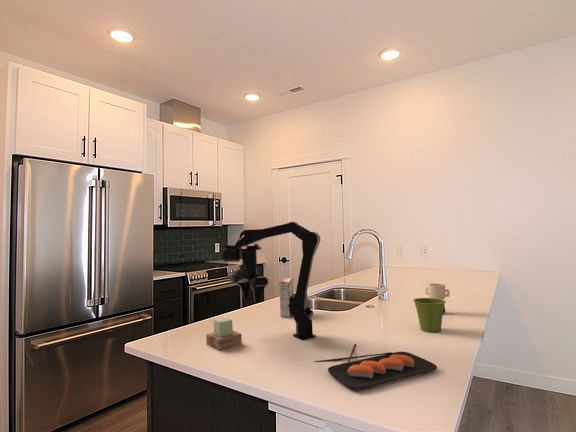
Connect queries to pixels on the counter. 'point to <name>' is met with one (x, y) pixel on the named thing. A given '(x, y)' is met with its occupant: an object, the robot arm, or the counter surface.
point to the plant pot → (430, 313)
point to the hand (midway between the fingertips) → (250, 301)
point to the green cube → (223, 327)
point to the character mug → (437, 292)
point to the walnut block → (223, 340)
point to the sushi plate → (378, 369)
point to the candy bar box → (285, 296)
